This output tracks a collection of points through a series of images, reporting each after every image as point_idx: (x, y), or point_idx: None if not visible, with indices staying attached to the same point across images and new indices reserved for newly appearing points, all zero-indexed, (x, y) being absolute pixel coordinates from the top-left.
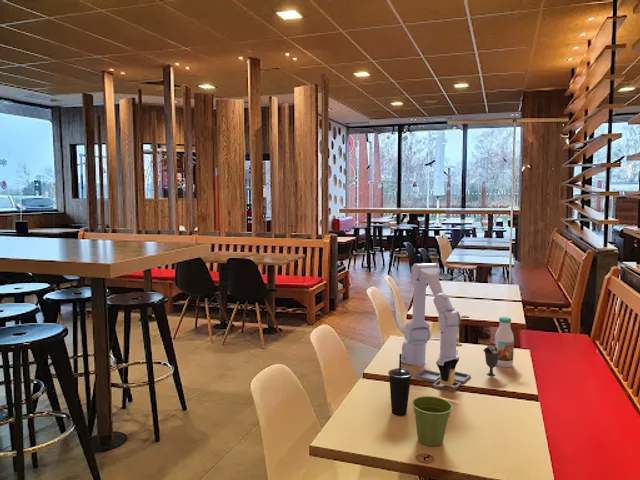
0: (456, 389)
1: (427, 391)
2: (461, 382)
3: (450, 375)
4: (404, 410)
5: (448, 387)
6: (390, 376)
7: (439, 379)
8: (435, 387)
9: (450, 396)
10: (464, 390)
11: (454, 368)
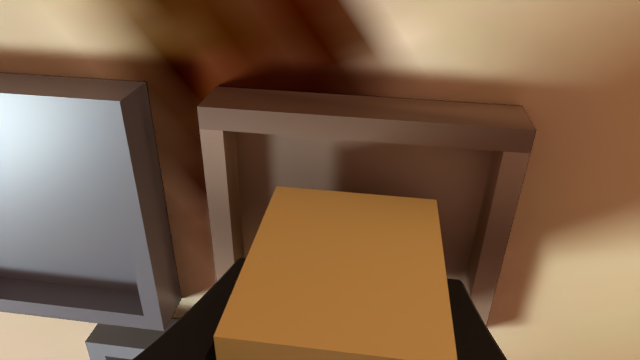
0: (392, 105)
1: (576, 350)
2: (135, 116)
3: (448, 320)
4: None
5: None
6: None
7: None
8: None
9: (636, 108)
10: (309, 5)
11: (175, 354)
